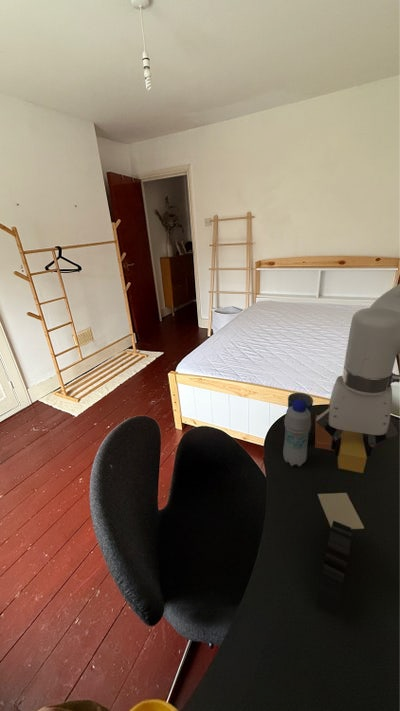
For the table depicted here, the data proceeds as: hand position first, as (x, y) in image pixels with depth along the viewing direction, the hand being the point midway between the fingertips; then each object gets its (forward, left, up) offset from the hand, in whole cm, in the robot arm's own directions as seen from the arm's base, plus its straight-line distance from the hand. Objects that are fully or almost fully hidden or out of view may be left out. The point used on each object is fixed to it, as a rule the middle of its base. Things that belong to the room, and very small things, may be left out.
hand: (349, 453), depth 61 cm
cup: (+3, -24, -18) cm, 30 cm away
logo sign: (+6, +12, -18) cm, 23 cm away
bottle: (+6, -16, -18) cm, 25 cm away
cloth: (0, 0, -18) cm, 18 cm away
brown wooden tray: (-9, -25, -18) cm, 32 cm away
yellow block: (0, 0, -1) cm, 1 cm away
